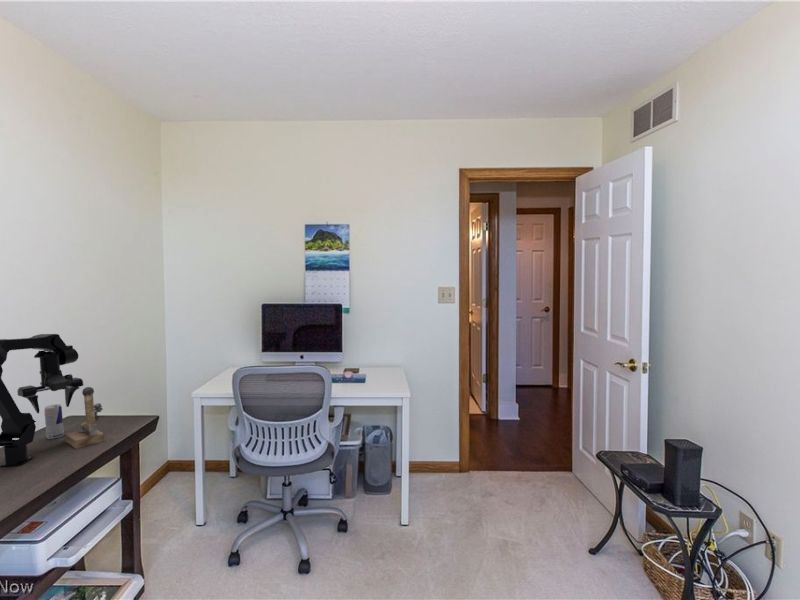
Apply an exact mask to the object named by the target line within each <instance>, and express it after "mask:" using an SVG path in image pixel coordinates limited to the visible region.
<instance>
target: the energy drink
mask: <svg viewBox="0 0 800 600" xmlns="http://www.w3.org/2000/svg"><path fill="white" fill-rule="evenodd" d="M43 411H44V420H45V434H46V439H48V440H54V439H55V438H56V439H60V438H62V437H64V436H65V432H64V421H63V419H64V418H63V409H62V405H61V404H51V405H47V406H45V407H44V410H43Z"/></svg>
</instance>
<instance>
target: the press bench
mask: <svg viewBox="0 0 800 600" xmlns="http://www.w3.org/2000/svg"><path fill="white" fill-rule="evenodd" d="M80 428H81V429H79V430H76V431H72V432H68V433H64V438H65V443H67V444H68V445H70V447H72V448H74V449H76V450H77V449H81V448H85V447H88V446H92V445H95V444H100V443H103V442H105V435H104V432H102V431H100V430H98V424H97V423H95V424H93V425H89V431H87V427H86V420H85V421H83V422H82V423H81V424H80Z"/></svg>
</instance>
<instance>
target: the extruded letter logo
mask: <svg viewBox="0 0 800 600" xmlns="http://www.w3.org/2000/svg"><path fill="white" fill-rule="evenodd" d="M103 410H104V409H103V406H102V403H100V402H99V403H95V404H94V414H95V420H96V419H98V413H101V412H102V411H103ZM96 421H97V420H96Z"/></svg>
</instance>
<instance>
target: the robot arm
mask: <svg viewBox="0 0 800 600" xmlns="http://www.w3.org/2000/svg"><path fill="white" fill-rule="evenodd" d="M30 349H31V350H38V351H37V353H35V354H34V356H33V358H34V359H35V358H36V359H38V358H39V367H40V368H39V369H40V370H39V374H40V382H39V383H40V385H39V386H34V385H26V386H20V387H18V389H17V390H16V391H17V396H19V397H22V398H24V399H27V400H28V401H29V402H30V404H31V405H32V408H33V409H34V411H35V412H36V414H40V406H39V400H38V399H39V395H37V394H38V393H39V392H43V391H49V390H50V391H52V392H57V391H59V390H60V391H61V390H64V397H65V406H66V407H67V408H69V406H70V405H71V402H72V399H73V395H74V394H75V392H76V391H77V390H79V389H80V387H83V386H84V381H83V378H80V377H73V374H72V373H70V374H65V375H64V374H63V371H62V370H61V367H60V366H64V365H68V364H69V365H70V364H72V363H75V362H77V361H78V358H79V353H78V351H77V350H76V349H75V348H73V345H67V344H66V343H65V341H64V340H63V339H62V337H61V336H60V334H58V333H39V334H36V335H33V336H31V337H24V338H8V339H6V338H1V339H0V418H1V420H2V421H1V424H0V429H1V432H0V447H3V449H4V450H3V451H4V460H5V461H4V462H3V463H2V464H0V466H3V467H12V466H21V465H23V464H26V463H27V462H28V461H30V460H31V459H32V458H34V456H33V455H28V454H29V453H28V452H29V451H28V444H31V443H33V442H34V437H35V432H36V428H37V427H36V426H37V425H36V424H35V423H36V422H37V421H36V420H35V419H34V418H33V415H32V413H31V412H21V410H20V409H19V407H18V405H17V404H16V402H15V400H14V398H13V397H12V395H11V393H10V392H9V390H8V387H7V385H6V384H5V383H4V381H3V378H2V375H3V371H4V370H3V367H2V366H3V364H4V363H5V362H6V361H7V358H8V353H9V352H10V351H20V350H30Z"/></svg>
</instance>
